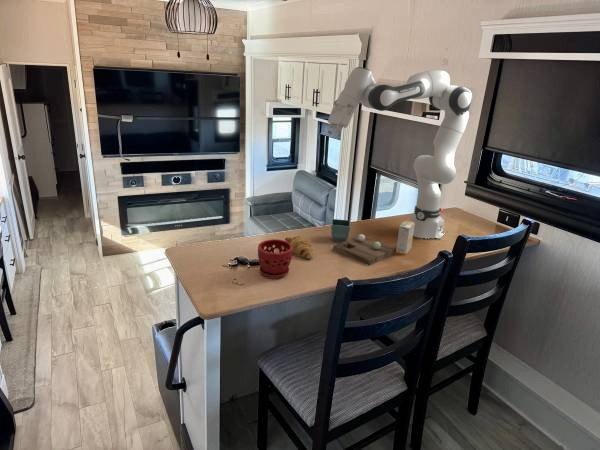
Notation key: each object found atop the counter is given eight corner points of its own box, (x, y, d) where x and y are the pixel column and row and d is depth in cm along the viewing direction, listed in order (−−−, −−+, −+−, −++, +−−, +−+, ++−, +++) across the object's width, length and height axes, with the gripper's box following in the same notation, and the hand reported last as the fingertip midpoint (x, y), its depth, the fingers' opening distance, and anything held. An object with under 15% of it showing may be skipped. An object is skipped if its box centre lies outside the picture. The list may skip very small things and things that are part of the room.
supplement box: (401, 246, 193) (404, 220, 188) (411, 249, 191) (415, 222, 186) (395, 252, 186) (399, 225, 182) (405, 255, 184) (409, 227, 179)
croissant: (316, 267, 177) (325, 250, 176) (300, 261, 170) (308, 244, 170) (290, 248, 193) (298, 233, 193) (274, 242, 187) (282, 226, 186)
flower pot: (348, 237, 201) (350, 220, 198) (348, 244, 193) (350, 226, 190) (330, 236, 202) (331, 218, 199) (329, 242, 193) (331, 224, 190)
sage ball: (375, 246, 185) (376, 239, 184) (382, 249, 183) (382, 242, 182) (371, 248, 183) (372, 241, 181) (377, 251, 180) (378, 244, 179)
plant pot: (250, 272, 161) (250, 244, 157) (276, 263, 170) (276, 236, 166) (272, 285, 153) (273, 255, 149) (298, 274, 161) (299, 246, 157)
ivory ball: (360, 239, 193) (361, 232, 192) (366, 241, 191) (367, 234, 189) (355, 240, 190) (356, 234, 189) (361, 243, 188) (362, 236, 187)
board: (357, 240, 197) (357, 235, 196) (393, 254, 184) (393, 249, 184) (332, 250, 185) (333, 245, 184) (369, 265, 172) (370, 260, 171)
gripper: (360, 108, 164) (344, 140, 167) (346, 107, 184) (331, 136, 186) (347, 101, 163) (331, 133, 165) (333, 101, 182) (319, 130, 184)
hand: (331, 135), depth 176 cm, fingers open, 8 cm apart
